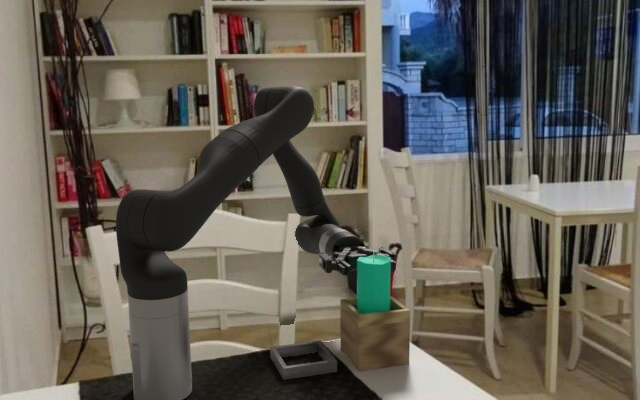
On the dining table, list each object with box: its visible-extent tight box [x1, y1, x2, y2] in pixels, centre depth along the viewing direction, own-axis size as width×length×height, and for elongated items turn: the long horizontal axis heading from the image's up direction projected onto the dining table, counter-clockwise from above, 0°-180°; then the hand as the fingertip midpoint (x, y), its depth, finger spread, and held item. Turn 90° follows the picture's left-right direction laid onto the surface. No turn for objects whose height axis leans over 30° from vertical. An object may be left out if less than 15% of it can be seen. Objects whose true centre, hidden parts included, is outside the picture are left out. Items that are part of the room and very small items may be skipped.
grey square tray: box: [269, 340, 338, 381], centre depth 112 cm, size 10×10×2 cm
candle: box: [356, 251, 392, 314], centre depth 113 cm, size 6×6×12 cm
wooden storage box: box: [339, 295, 411, 372], centre depth 115 cm, size 10×10×10 cm
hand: (371, 269), depth 114 cm, fingers open, 8 cm apart
